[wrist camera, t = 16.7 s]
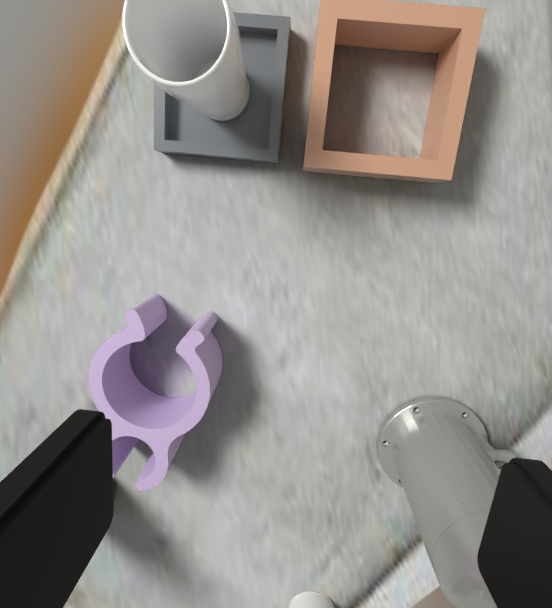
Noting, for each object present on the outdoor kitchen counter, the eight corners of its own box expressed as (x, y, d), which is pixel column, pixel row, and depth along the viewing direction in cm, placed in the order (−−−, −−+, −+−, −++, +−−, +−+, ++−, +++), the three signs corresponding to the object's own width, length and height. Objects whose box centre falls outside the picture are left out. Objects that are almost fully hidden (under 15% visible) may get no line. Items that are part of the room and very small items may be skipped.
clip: (193, 462, 50) (177, 502, 43) (99, 432, 49) (68, 468, 43) (238, 319, 45) (227, 340, 38) (133, 285, 44) (103, 300, 38)
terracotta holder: (458, 36, 36) (485, 8, 31) (430, 182, 40) (451, 180, 34) (317, 25, 37) (321, -5, 31) (302, 171, 40) (303, 166, 35)
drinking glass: (245, 41, 36) (211, -63, 22) (266, 117, 38) (247, 66, 24) (177, 66, 37) (102, -19, 23) (201, 139, 39) (144, 103, 24)
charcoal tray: (290, 29, 37) (290, 16, 34) (278, 163, 40) (277, 161, 38) (164, 18, 37) (155, 6, 35) (162, 152, 40) (153, 149, 38)
